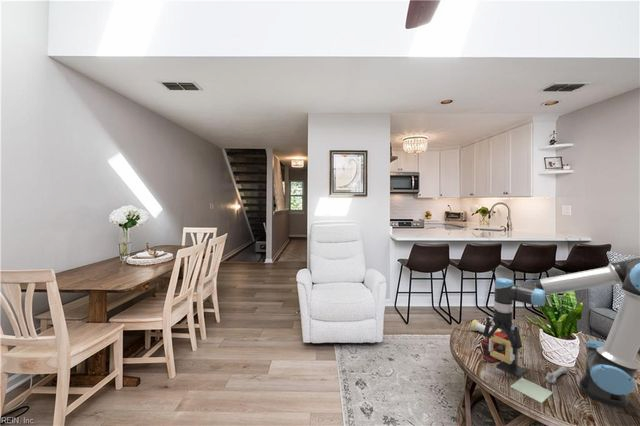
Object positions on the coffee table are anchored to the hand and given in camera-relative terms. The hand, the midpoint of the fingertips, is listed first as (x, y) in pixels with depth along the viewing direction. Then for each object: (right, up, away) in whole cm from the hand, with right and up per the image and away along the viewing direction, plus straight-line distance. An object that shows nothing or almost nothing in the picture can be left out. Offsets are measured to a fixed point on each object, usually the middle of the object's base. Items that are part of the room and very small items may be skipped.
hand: (501, 355), depth 135 cm
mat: (+7, -11, -11) cm, 16 cm away
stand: (+5, -10, +2) cm, 11 cm away
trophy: (+20, -9, +35) cm, 41 cm away
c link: (0, -2, 0) cm, 2 cm away
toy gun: (+10, -10, +16) cm, 21 cm away
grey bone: (+26, -11, -2) cm, 28 cm away
